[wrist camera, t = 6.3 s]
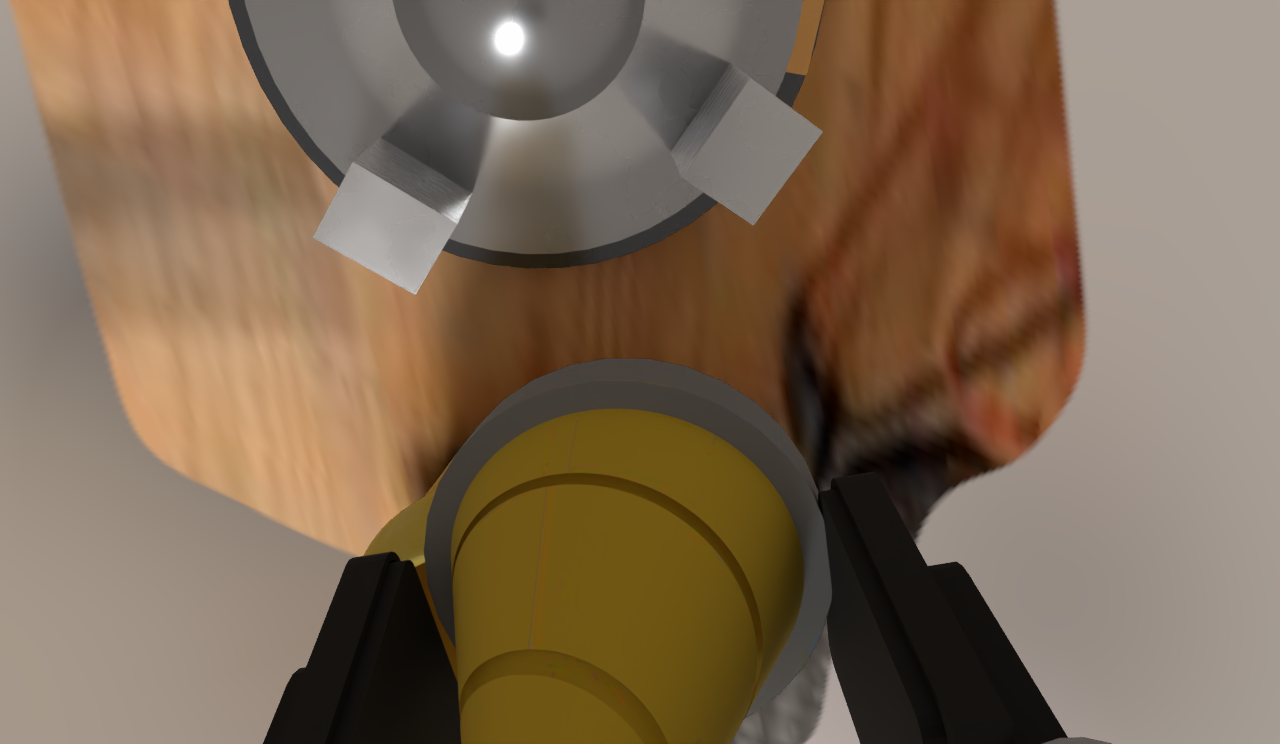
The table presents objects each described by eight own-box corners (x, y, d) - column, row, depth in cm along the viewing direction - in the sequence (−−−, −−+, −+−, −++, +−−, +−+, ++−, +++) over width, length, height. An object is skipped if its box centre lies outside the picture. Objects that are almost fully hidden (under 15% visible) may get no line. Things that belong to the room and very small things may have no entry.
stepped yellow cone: (673, 646, 16) (586, 1495, 6) (441, 474, 15) (-62, 1111, 5) (874, 443, 14) (1181, 1164, 4) (622, 241, 13) (356, 573, 4)
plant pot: (348, 419, 32) (258, 596, 23) (610, 346, 31) (620, 501, 22) (449, 616, 36) (406, 826, 27) (678, 557, 35) (709, 753, 27)
